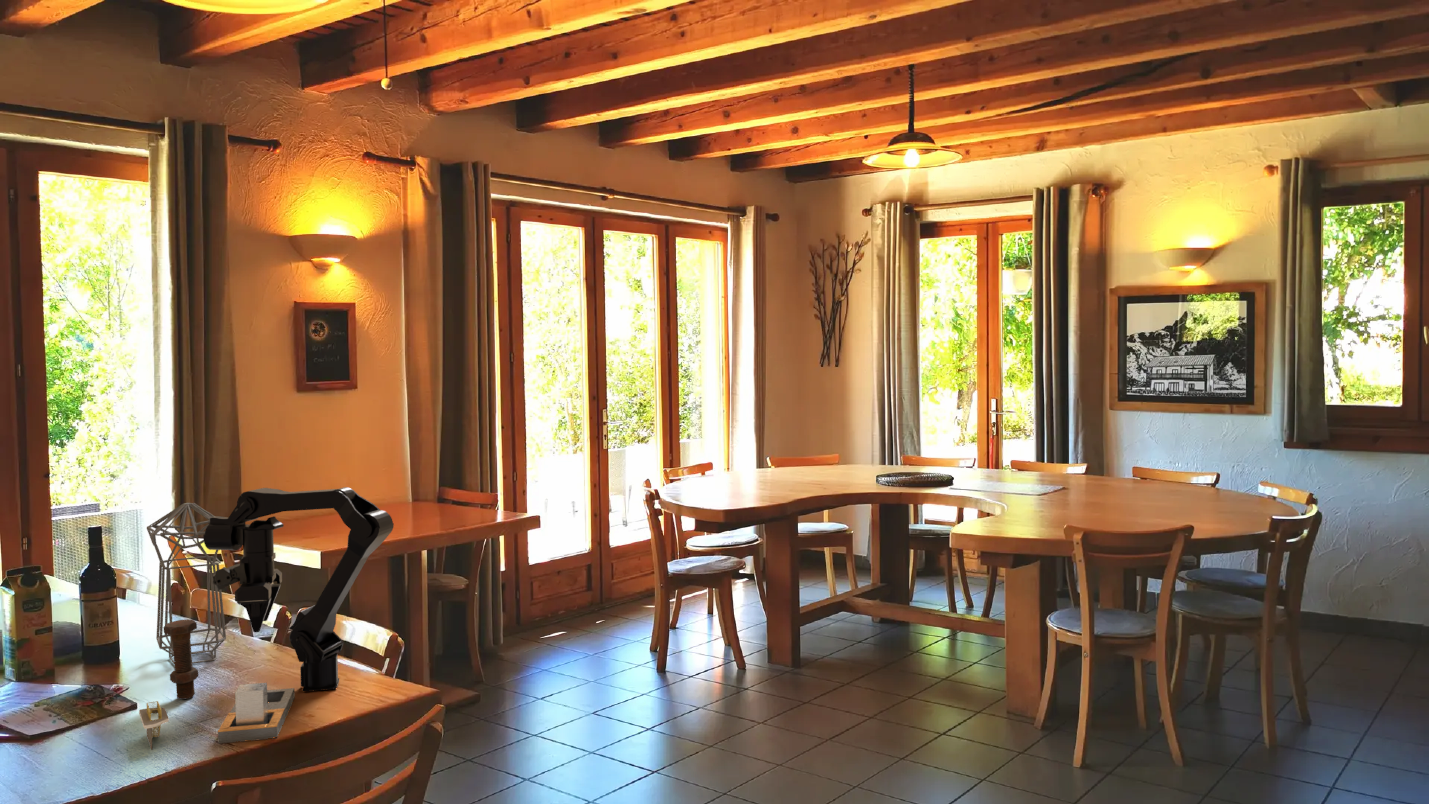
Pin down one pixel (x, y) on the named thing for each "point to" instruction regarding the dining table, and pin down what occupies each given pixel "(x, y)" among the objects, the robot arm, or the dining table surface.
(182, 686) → the bolt
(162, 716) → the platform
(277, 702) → the rail plate
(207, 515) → the geometric lantern
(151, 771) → the dining table surface
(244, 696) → the nut block
